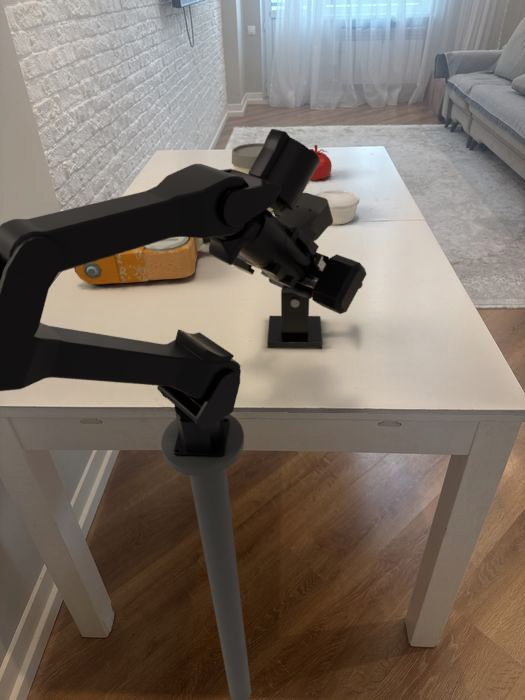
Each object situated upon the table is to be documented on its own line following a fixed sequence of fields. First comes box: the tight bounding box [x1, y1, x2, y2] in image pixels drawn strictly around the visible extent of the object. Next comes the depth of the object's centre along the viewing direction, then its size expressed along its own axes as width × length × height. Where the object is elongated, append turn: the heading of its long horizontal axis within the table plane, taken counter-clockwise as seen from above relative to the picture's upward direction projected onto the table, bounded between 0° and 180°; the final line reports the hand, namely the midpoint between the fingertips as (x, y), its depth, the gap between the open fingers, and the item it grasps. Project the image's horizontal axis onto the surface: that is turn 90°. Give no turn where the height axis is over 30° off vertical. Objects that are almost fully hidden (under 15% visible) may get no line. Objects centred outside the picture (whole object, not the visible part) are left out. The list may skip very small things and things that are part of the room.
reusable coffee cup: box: [231, 142, 273, 213], centre depth 126 cm, size 13×13×15 cm
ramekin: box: [315, 190, 360, 226], centre depth 122 cm, size 11×11×5 cm
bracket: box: [266, 288, 323, 349], centre depth 81 cm, size 9×8×10 cm
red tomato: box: [309, 144, 333, 181], centre depth 147 cm, size 10×10×9 cm
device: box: [73, 237, 211, 286], centre depth 105 cm, size 23×8×30 cm
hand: (320, 288), depth 70 cm, fingers closed
